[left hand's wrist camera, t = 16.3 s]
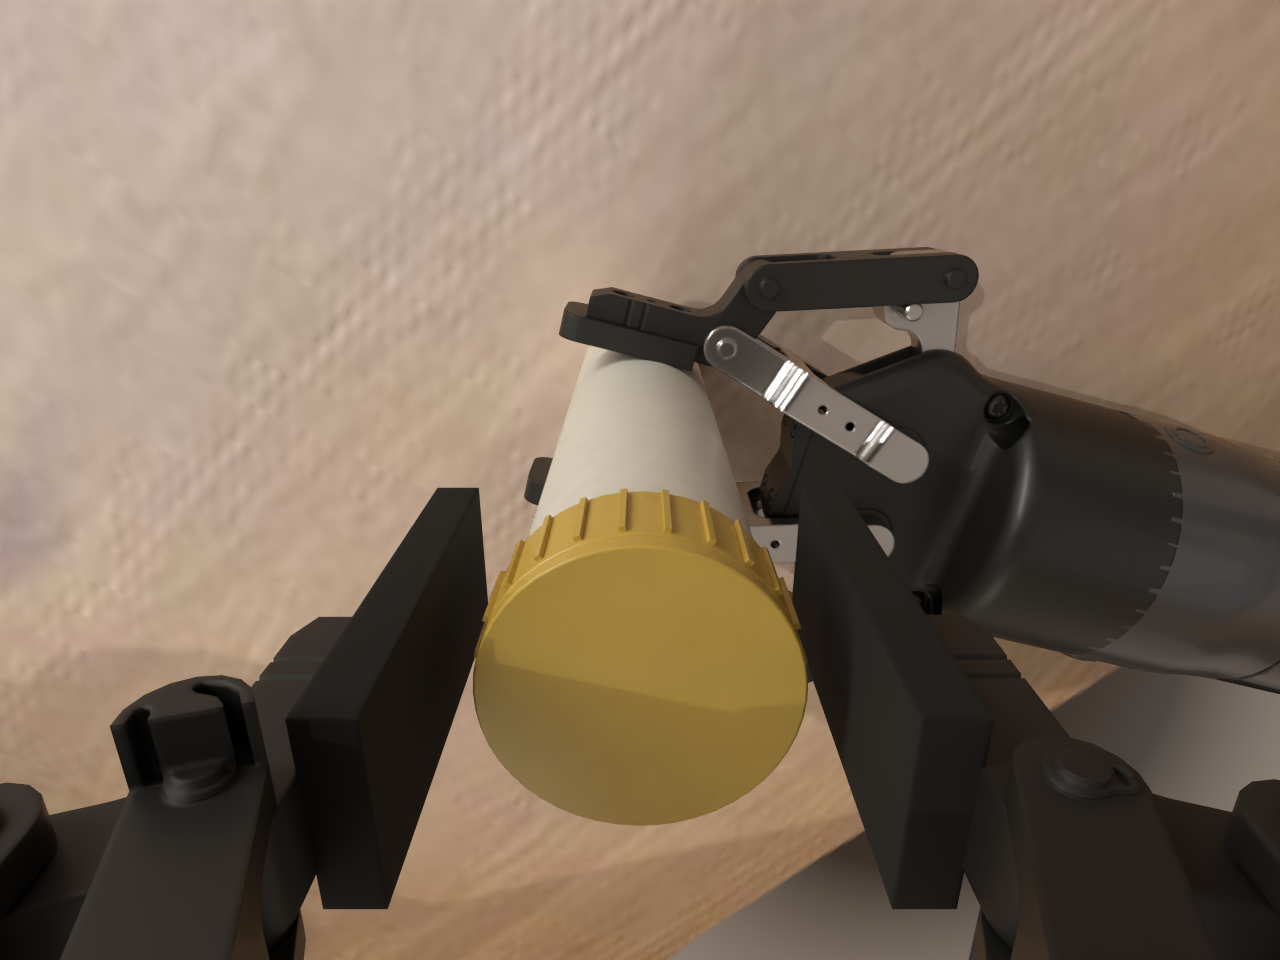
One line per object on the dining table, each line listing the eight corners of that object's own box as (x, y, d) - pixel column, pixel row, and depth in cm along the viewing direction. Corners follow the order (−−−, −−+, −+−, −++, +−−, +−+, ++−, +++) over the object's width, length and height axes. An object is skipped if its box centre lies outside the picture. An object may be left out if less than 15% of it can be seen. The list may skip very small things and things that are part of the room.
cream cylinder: (658, 444, 30) (684, 825, 12) (563, 389, 29) (443, 710, 11) (719, 352, 28) (846, 629, 11) (621, 291, 28) (587, 483, 10)
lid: (833, 532, 12) (867, 595, 10) (731, 769, 13) (745, 859, 12) (531, 449, 11) (510, 499, 10) (464, 705, 13) (436, 789, 11)
